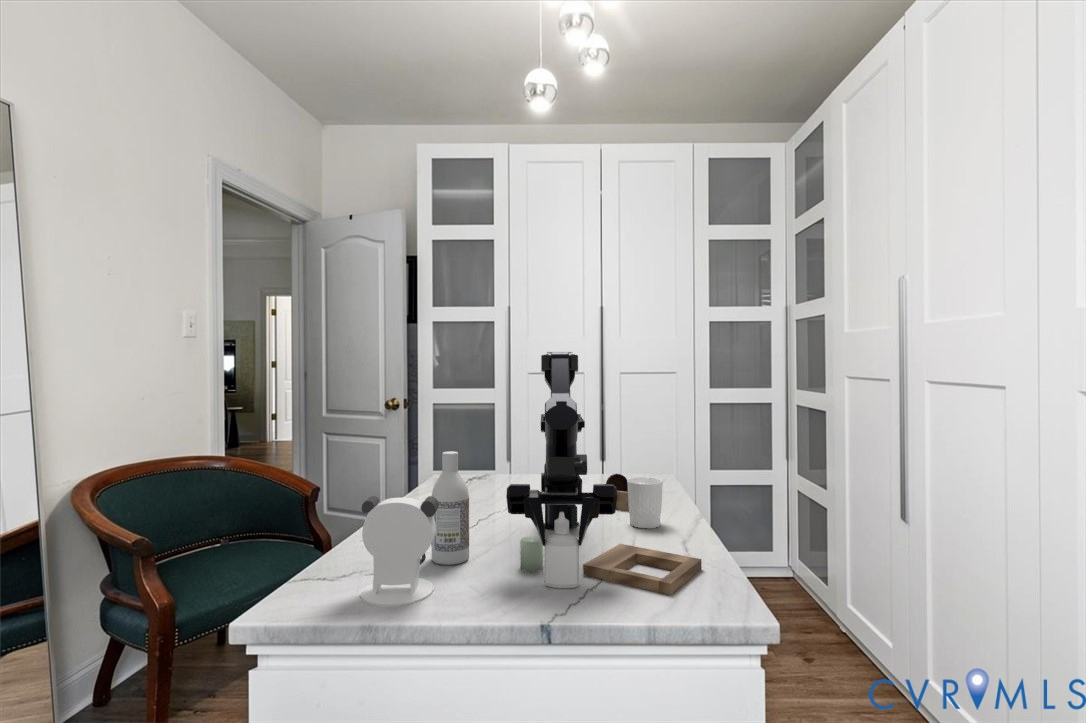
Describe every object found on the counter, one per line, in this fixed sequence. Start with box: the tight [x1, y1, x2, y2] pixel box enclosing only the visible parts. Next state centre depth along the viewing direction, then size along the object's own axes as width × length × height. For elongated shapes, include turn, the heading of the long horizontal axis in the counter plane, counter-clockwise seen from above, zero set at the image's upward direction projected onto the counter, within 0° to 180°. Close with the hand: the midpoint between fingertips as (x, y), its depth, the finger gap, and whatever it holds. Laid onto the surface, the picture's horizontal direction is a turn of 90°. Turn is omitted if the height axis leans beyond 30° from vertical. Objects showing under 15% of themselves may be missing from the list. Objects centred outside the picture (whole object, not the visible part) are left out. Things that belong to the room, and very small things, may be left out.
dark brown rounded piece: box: [605, 473, 628, 492], centre depth 153 cm, size 8×8×7 cm
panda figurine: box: [360, 495, 439, 608], centre depth 95 cm, size 12×11×15 cm
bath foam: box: [430, 450, 470, 566], centre depth 111 cm, size 7×7×20 cm
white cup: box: [627, 476, 663, 529], centre depth 134 cm, size 8×8×10 cm
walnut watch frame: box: [616, 491, 629, 512], centre depth 153 cm, size 11×11×4 cm
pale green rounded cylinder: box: [519, 536, 544, 573], centre depth 107 cm, size 4×4×5 cm
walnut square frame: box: [582, 543, 702, 596], centre depth 104 cm, size 16×14×2 cm
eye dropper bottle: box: [544, 512, 580, 589], centre depth 98 cm, size 4×6×12 cm
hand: (562, 544), depth 97 cm, fingers closed on eye dropper bottle, 5 cm apart
